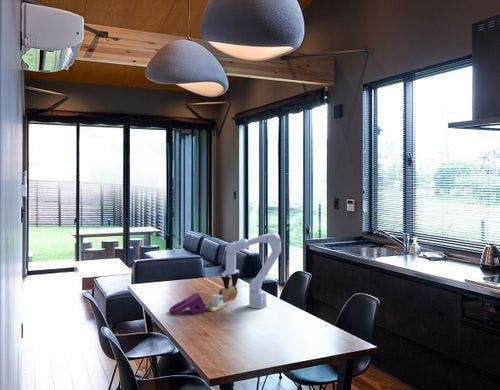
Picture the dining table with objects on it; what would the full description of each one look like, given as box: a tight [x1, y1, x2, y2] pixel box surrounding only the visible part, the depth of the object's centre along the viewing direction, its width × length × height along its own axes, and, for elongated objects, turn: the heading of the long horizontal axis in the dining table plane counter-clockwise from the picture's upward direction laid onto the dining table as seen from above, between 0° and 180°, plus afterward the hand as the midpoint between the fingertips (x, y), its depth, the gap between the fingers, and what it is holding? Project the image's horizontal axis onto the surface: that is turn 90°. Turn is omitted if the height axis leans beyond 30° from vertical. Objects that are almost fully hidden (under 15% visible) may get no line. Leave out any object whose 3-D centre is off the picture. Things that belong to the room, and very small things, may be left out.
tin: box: [218, 285, 238, 303], centre depth 279 cm, size 15×3×8 cm, turn 143°
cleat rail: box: [203, 300, 229, 312], centre depth 262 cm, size 6×14×3 cm, turn 147°
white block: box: [210, 293, 223, 307], centre depth 262 cm, size 6×4×6 cm
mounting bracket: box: [168, 292, 205, 315], centre depth 252 cm, size 10×8×18 cm
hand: (230, 287), depth 268 cm, fingers open, 7 cm apart
